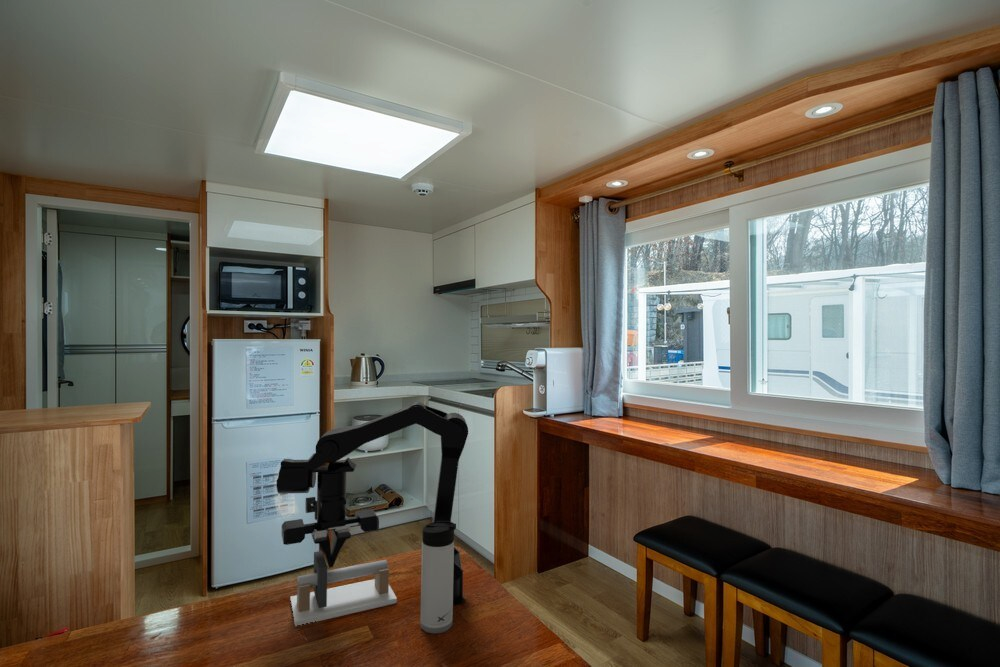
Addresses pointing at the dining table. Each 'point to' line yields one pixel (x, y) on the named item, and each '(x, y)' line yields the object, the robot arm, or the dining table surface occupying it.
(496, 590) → the dining table surface
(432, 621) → the travel mug
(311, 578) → the pipe stand
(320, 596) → the dark grey flat block
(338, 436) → the robot arm
